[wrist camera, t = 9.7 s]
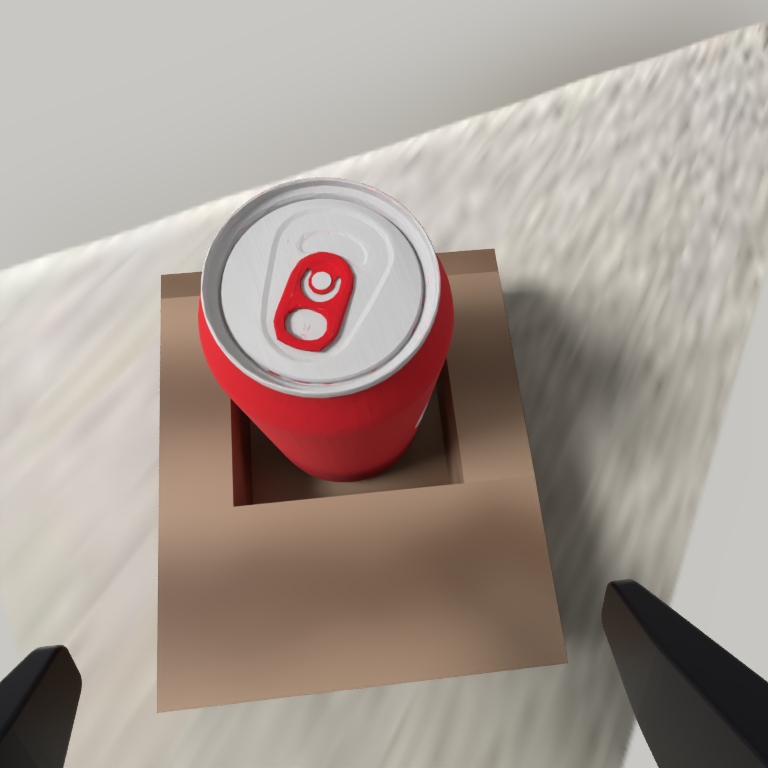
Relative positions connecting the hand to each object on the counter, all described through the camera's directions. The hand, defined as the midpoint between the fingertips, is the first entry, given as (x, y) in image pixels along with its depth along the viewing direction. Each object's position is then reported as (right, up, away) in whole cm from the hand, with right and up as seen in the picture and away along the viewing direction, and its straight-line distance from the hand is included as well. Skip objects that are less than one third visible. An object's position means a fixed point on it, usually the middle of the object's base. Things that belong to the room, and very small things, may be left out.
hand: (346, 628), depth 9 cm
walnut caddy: (-1, +1, +14) cm, 14 cm away
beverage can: (-1, +3, +14) cm, 15 cm away
